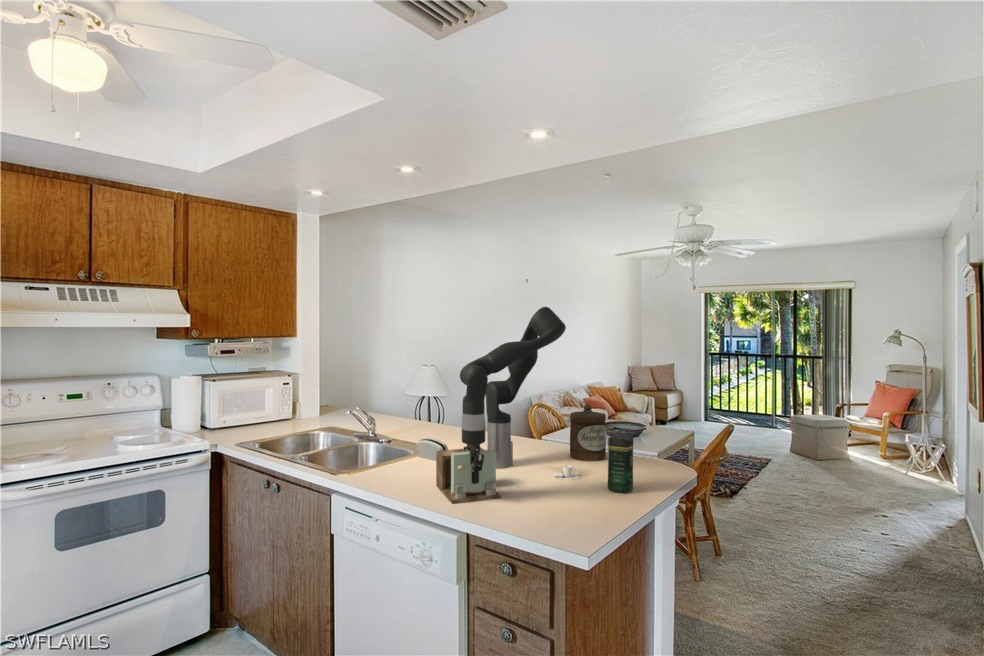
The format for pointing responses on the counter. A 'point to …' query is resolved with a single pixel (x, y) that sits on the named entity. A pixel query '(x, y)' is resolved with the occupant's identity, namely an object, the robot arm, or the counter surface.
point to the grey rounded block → (429, 448)
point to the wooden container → (587, 435)
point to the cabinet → (461, 495)
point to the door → (463, 472)
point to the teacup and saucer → (566, 473)
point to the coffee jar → (620, 462)
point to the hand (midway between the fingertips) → (473, 481)
